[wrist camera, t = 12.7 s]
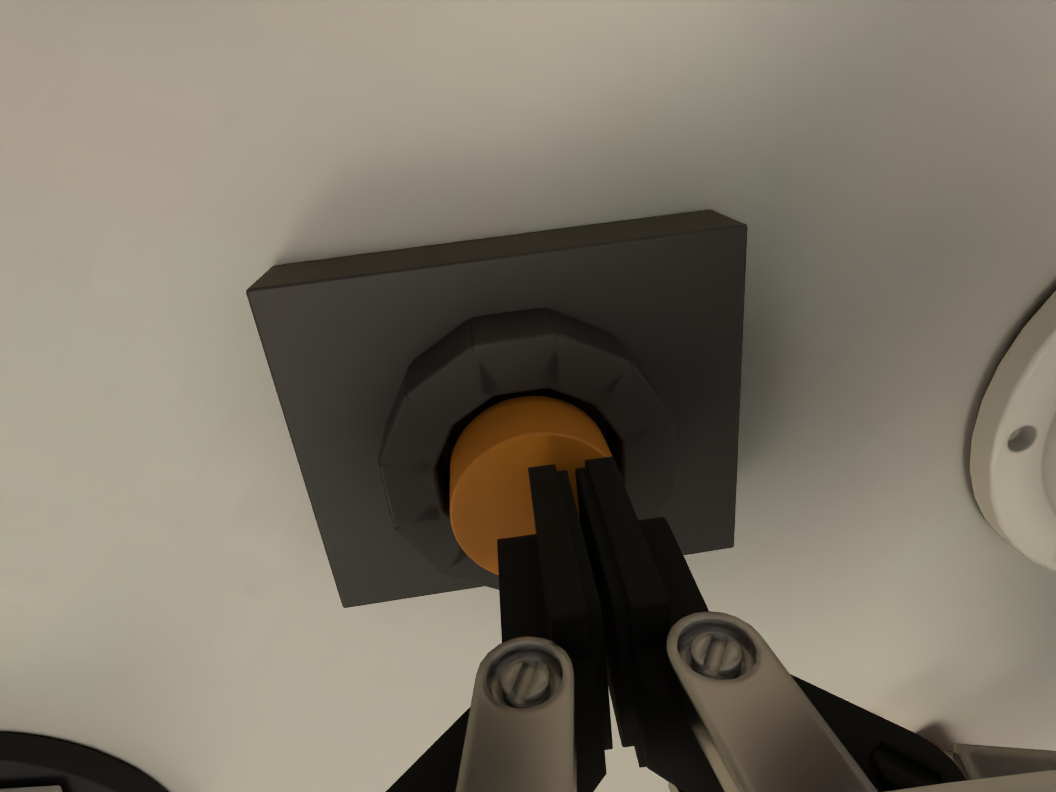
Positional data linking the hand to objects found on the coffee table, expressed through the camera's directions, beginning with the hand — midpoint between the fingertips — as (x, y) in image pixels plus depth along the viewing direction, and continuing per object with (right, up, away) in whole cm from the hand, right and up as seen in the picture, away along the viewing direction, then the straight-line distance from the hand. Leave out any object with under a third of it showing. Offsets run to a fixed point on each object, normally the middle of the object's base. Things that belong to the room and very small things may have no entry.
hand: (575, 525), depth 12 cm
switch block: (-1, +2, +5) cm, 6 cm away
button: (-1, +1, +2) cm, 2 cm away
